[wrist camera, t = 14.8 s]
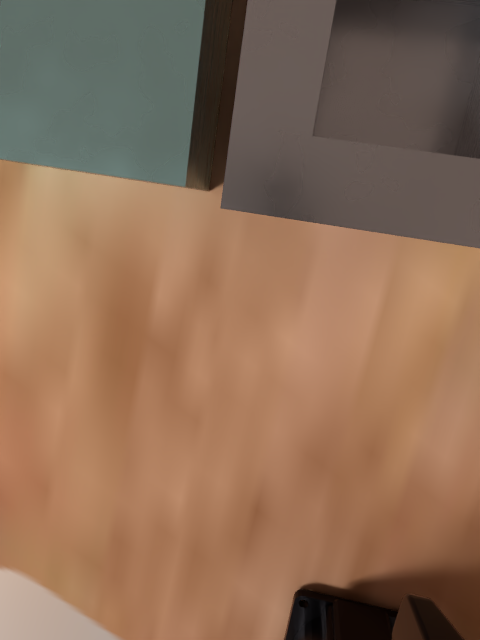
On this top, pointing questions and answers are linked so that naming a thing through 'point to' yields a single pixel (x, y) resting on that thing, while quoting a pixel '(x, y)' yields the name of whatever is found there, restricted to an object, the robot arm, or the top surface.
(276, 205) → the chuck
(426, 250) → the top surface
